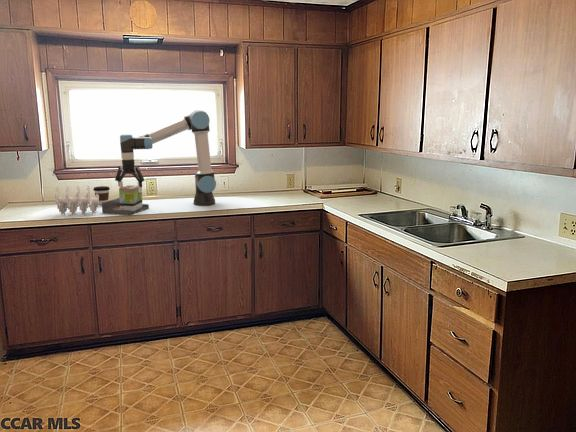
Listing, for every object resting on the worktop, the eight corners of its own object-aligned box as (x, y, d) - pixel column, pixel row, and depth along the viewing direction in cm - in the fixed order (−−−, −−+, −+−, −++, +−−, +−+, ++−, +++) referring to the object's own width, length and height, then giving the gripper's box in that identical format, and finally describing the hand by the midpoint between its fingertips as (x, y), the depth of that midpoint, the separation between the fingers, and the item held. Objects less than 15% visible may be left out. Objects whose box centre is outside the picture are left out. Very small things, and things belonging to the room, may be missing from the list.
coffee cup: (105, 206, 327) (104, 188, 324) (91, 205, 329) (89, 188, 326) (114, 203, 337) (112, 186, 335) (100, 202, 340) (98, 185, 337)
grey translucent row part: (97, 220, 302) (55, 220, 297) (101, 204, 316) (60, 203, 310) (94, 197, 291) (50, 196, 286) (98, 181, 305) (56, 180, 299)
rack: (148, 208, 319) (148, 198, 318) (129, 215, 299) (129, 204, 297) (122, 206, 325) (122, 196, 323) (102, 213, 304) (101, 202, 302)
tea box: (135, 211, 303) (133, 188, 299) (119, 211, 303) (118, 188, 300) (143, 206, 317) (141, 185, 314) (128, 206, 318) (126, 184, 315)
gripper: (148, 158, 303) (150, 191, 308) (114, 158, 310) (117, 190, 315) (141, 160, 296) (144, 193, 301) (107, 159, 303) (110, 192, 308)
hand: (130, 191), depth 308 cm, fingers open, 13 cm apart
